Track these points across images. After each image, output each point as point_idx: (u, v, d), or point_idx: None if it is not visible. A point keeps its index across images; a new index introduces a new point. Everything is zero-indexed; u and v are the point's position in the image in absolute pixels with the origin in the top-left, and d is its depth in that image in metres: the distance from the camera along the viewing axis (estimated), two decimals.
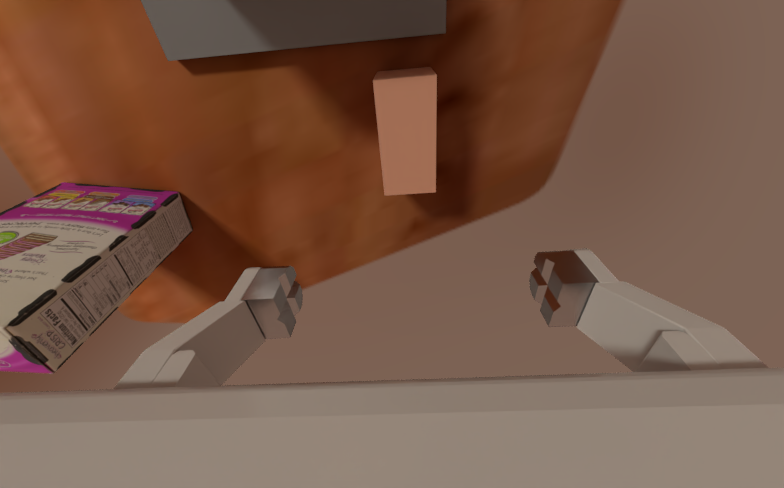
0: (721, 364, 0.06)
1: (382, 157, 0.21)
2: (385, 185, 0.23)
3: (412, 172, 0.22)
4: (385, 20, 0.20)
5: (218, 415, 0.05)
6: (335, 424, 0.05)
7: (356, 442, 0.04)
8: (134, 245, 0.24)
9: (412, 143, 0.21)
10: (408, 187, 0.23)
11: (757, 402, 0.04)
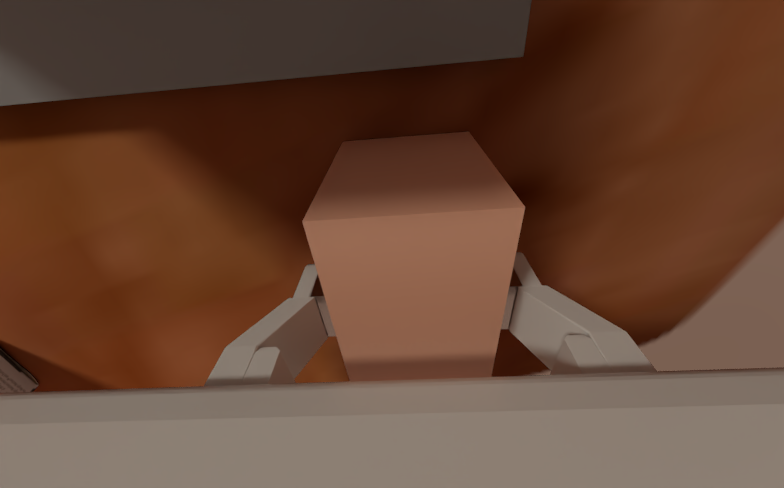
0: (613, 368, 0.06)
1: (351, 373, 0.08)
2: None
3: None
4: (353, 21, 0.07)
5: (219, 415, 0.05)
6: (335, 424, 0.05)
7: (356, 442, 0.04)
8: None
9: (431, 352, 0.08)
10: None
11: (757, 402, 0.04)
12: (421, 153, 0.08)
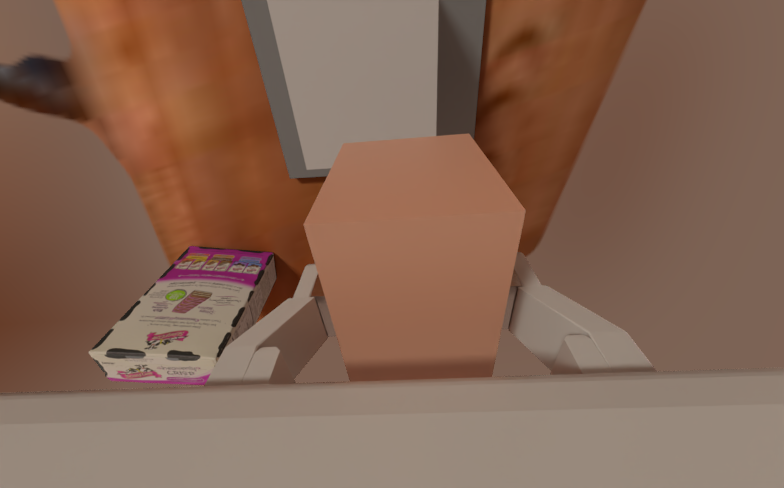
0: (613, 368, 0.06)
1: (352, 374, 0.08)
2: None
3: None
4: None
5: (218, 415, 0.05)
6: (335, 424, 0.05)
7: (356, 442, 0.04)
8: (256, 296, 0.35)
9: (431, 354, 0.08)
10: None
11: (757, 402, 0.04)
12: (421, 155, 0.08)
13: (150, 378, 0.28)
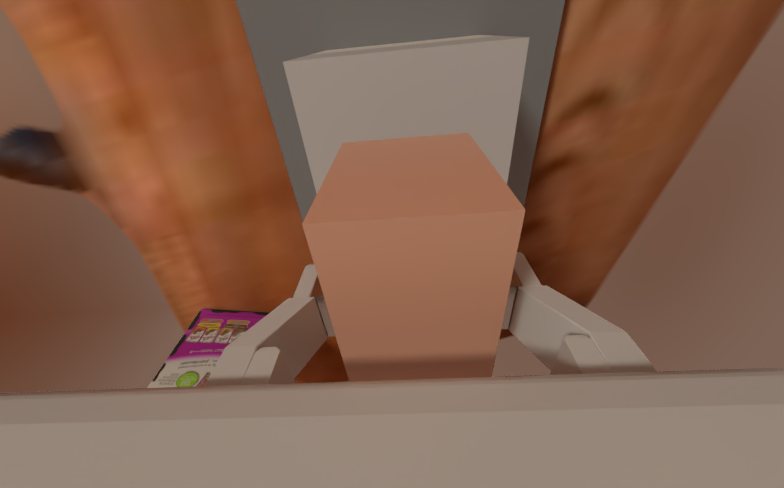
0: (613, 368, 0.06)
1: (351, 374, 0.08)
2: None
3: None
4: None
5: (218, 415, 0.05)
6: (335, 424, 0.05)
7: (356, 442, 0.04)
8: None
9: (431, 354, 0.08)
10: None
11: (757, 402, 0.04)
12: (421, 155, 0.08)
13: None
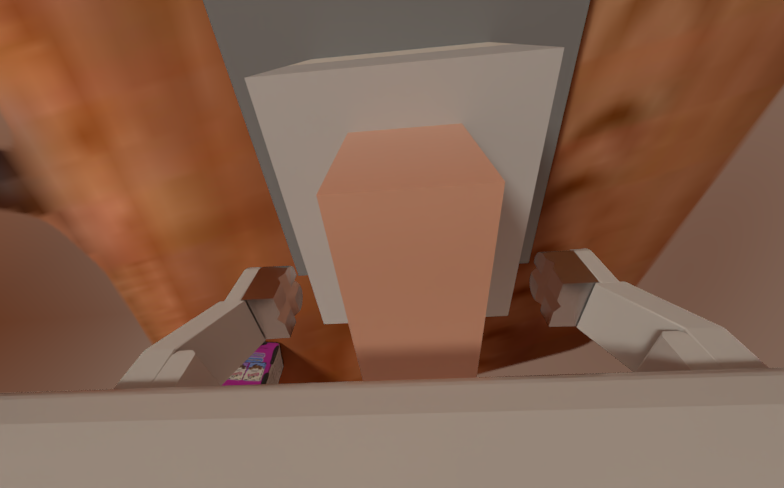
0: (721, 364, 0.06)
1: (356, 339, 0.09)
2: (366, 378, 0.10)
3: (426, 361, 0.10)
4: None
5: (218, 415, 0.05)
6: (335, 424, 0.05)
7: (356, 442, 0.04)
8: None
9: (427, 318, 0.09)
10: None
11: (757, 402, 0.04)
12: (418, 141, 0.09)
13: None
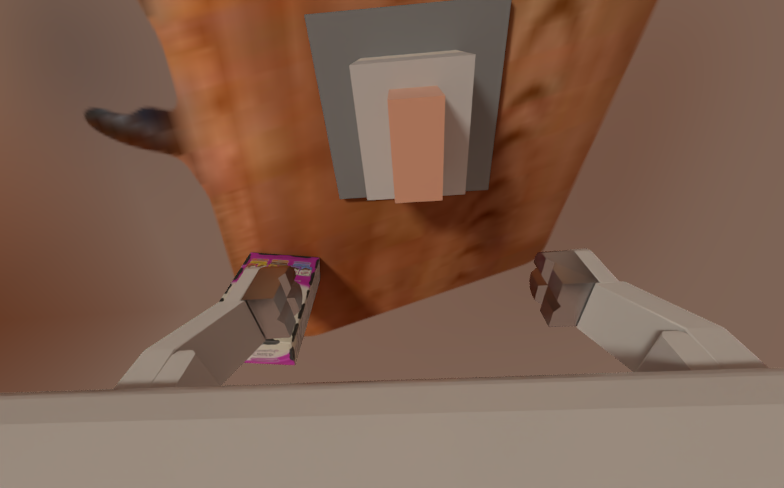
0: (721, 364, 0.06)
1: (394, 168, 0.23)
2: (396, 194, 0.25)
3: (421, 182, 0.24)
4: None
5: (218, 415, 0.05)
6: (335, 424, 0.05)
7: (356, 442, 0.04)
8: (310, 294, 0.43)
9: (421, 156, 0.23)
10: (417, 195, 0.25)
11: (757, 402, 0.04)
12: (419, 90, 0.23)
13: None
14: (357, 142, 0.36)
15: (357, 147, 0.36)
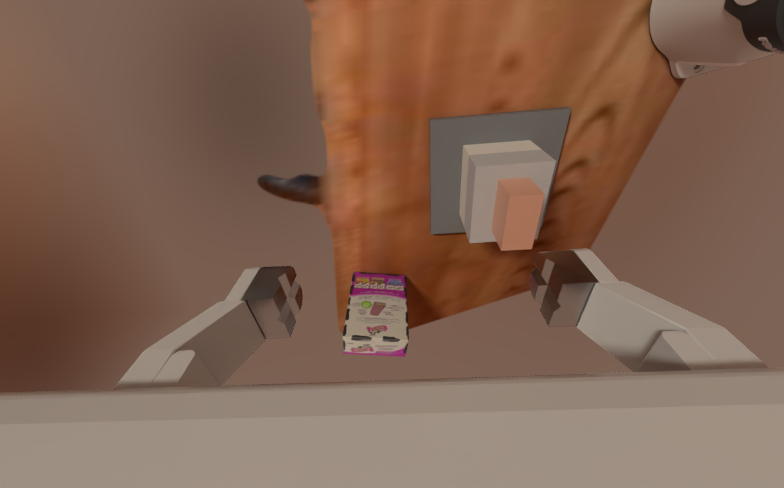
0: (721, 364, 0.06)
1: (505, 231, 0.38)
2: (503, 245, 0.39)
3: (520, 238, 0.38)
4: None
5: (218, 415, 0.05)
6: (335, 424, 0.05)
7: (356, 442, 0.04)
8: None
9: (524, 224, 0.37)
10: (516, 246, 0.39)
11: (757, 402, 0.04)
12: (521, 183, 0.37)
13: (366, 352, 0.51)
14: (451, 196, 0.50)
15: (450, 200, 0.51)
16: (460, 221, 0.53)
